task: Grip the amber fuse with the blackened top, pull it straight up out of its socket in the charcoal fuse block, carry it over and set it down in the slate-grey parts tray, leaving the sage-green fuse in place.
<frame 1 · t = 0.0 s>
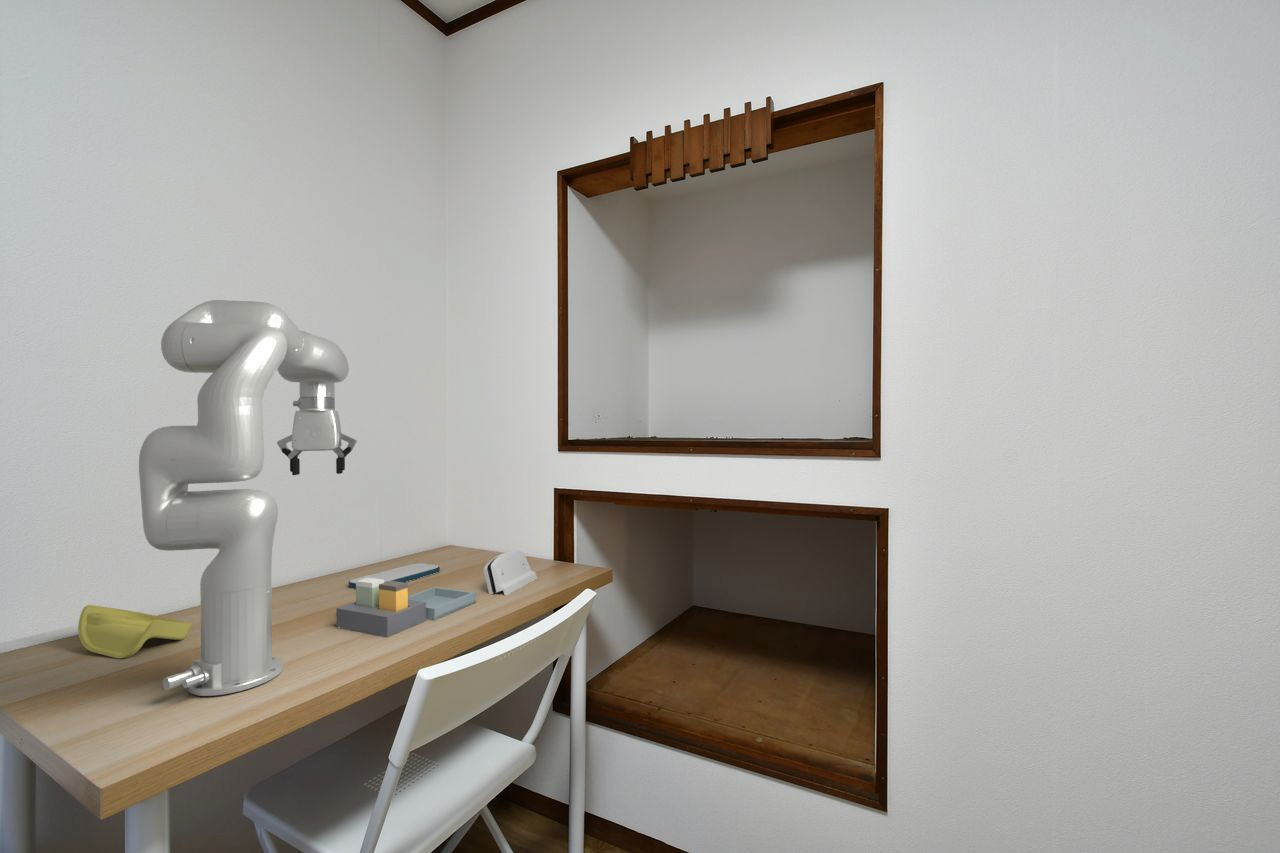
hand: (317, 474, 133), 31 cm above the table, tool pointing down, fingers open, 9 cm apart
fuse block: (381, 624, 115), on the table
grey slotted holder: (510, 587, 143), on the table
parts tray: (434, 607, 125), on the table
blown fuse: (393, 626, 113), resting in fuse block
plastic component: (133, 644, 107), on the table
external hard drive: (396, 581, 152), on the table
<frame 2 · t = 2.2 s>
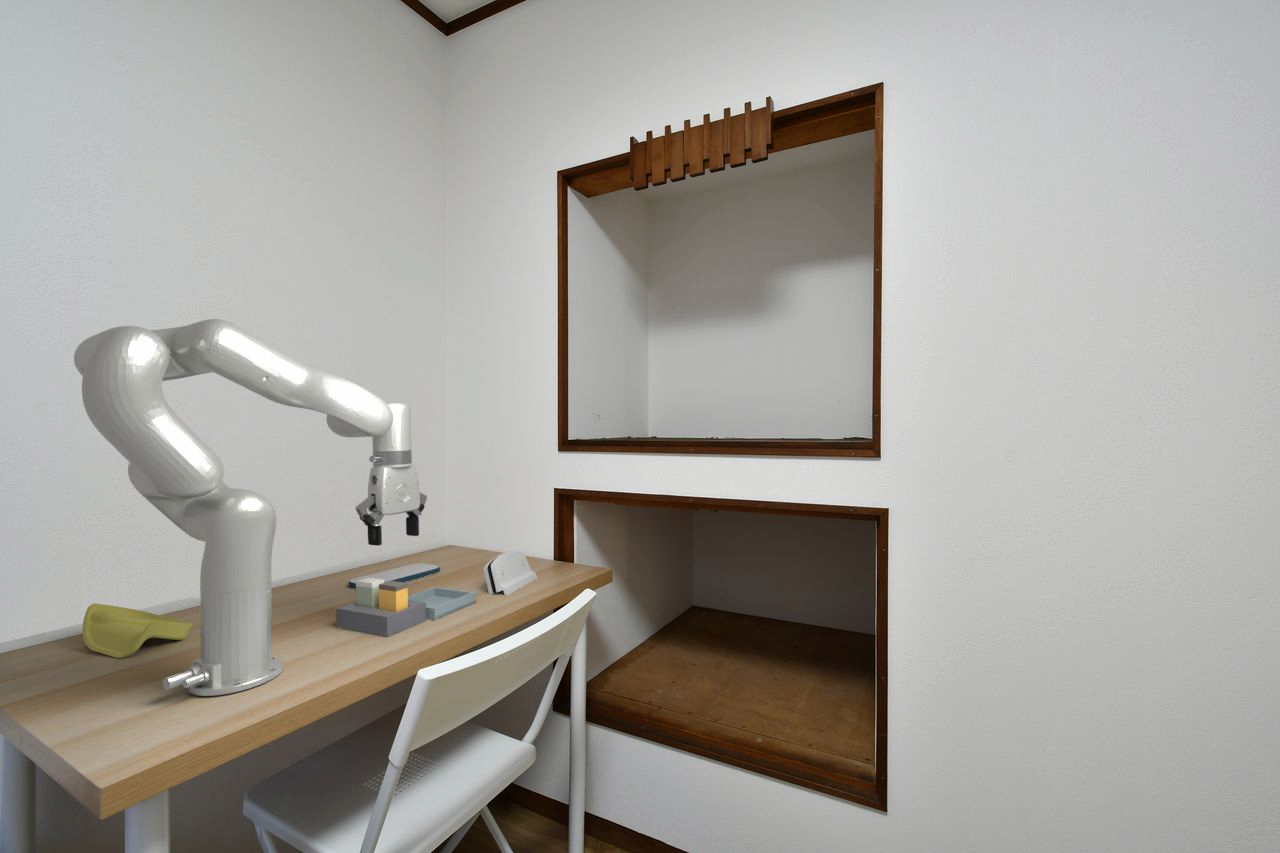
hand: (394, 540, 114), 18 cm above the table, tool pointing down, fingers open, 9 cm apart
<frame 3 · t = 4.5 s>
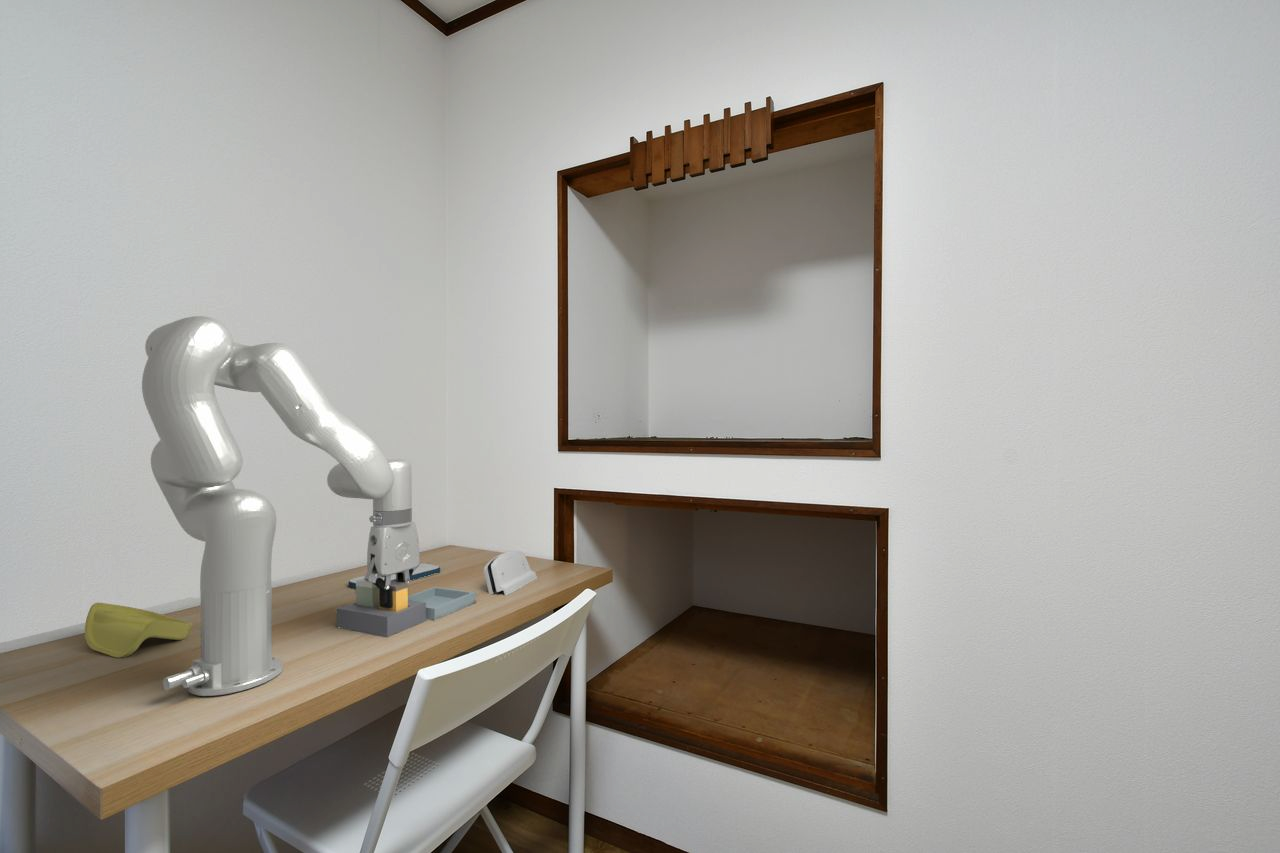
hand: (393, 603, 113), 5 cm above the table, tool pointing down, fingers closed on blown fuse, 3 cm apart
blown fuse: (393, 626, 113), resting in fuse block, touching gripper
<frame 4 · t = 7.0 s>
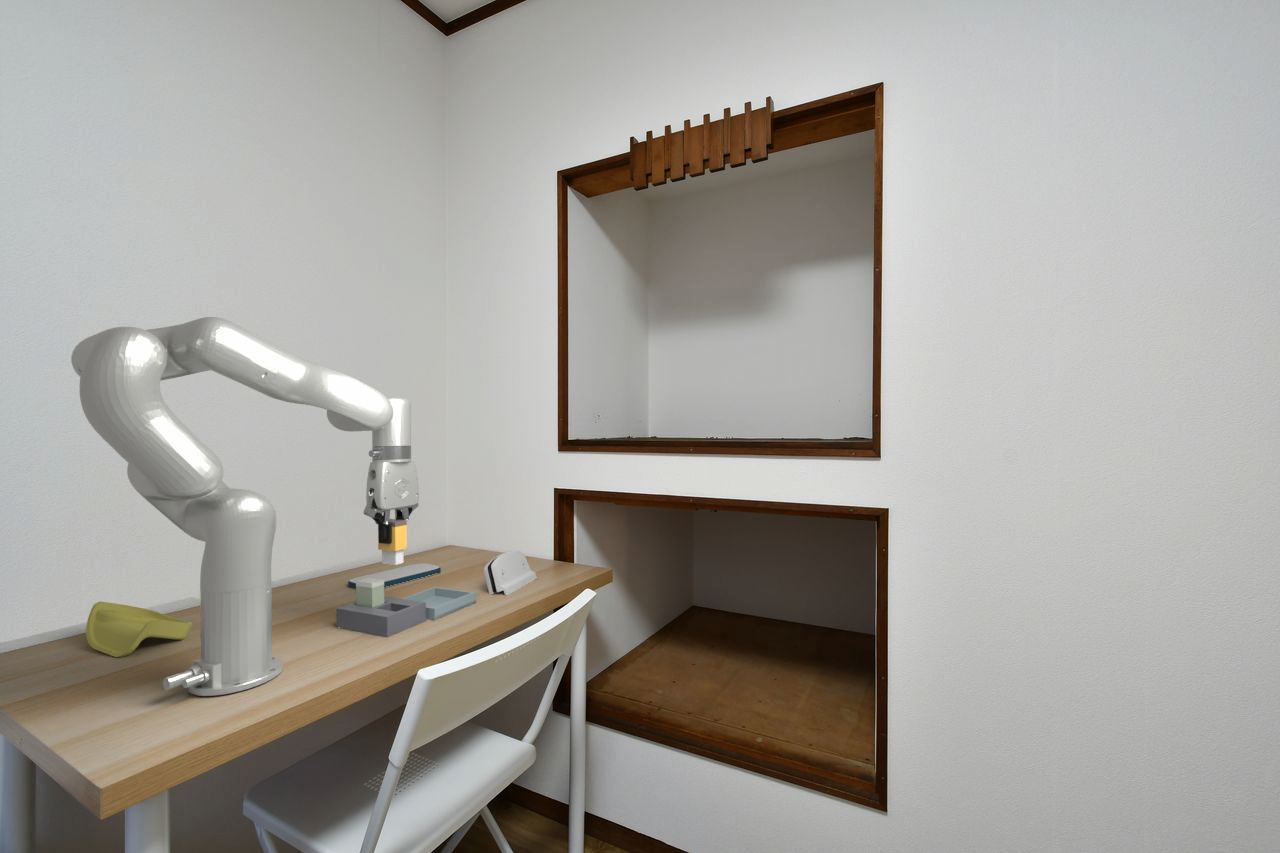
hand: (392, 540, 114), 18 cm above the table, tool pointing down, fingers closed on blown fuse, 3 cm apart
blown fuse: (392, 563, 113), point 13 cm above the table, touching gripper
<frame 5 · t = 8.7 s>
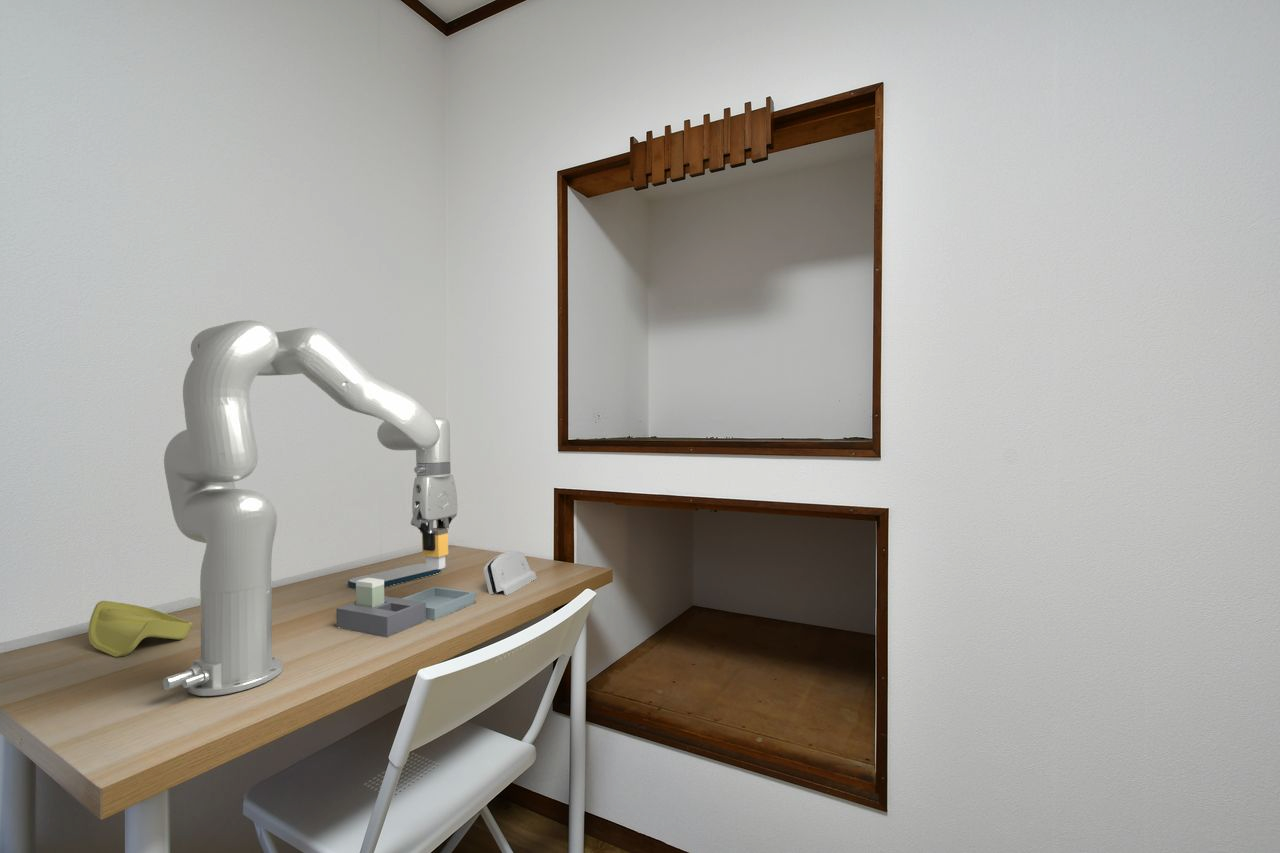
hand: (435, 547, 126), 14 cm above the table, tool pointing down, fingers closed on blown fuse, 3 cm apart
blown fuse: (435, 567, 126), point 9 cm above the table, touching gripper
when the fingers open (7 cm above the table, at t = 10.3 s): blown fuse drops 1 cm, resting on parts tray.
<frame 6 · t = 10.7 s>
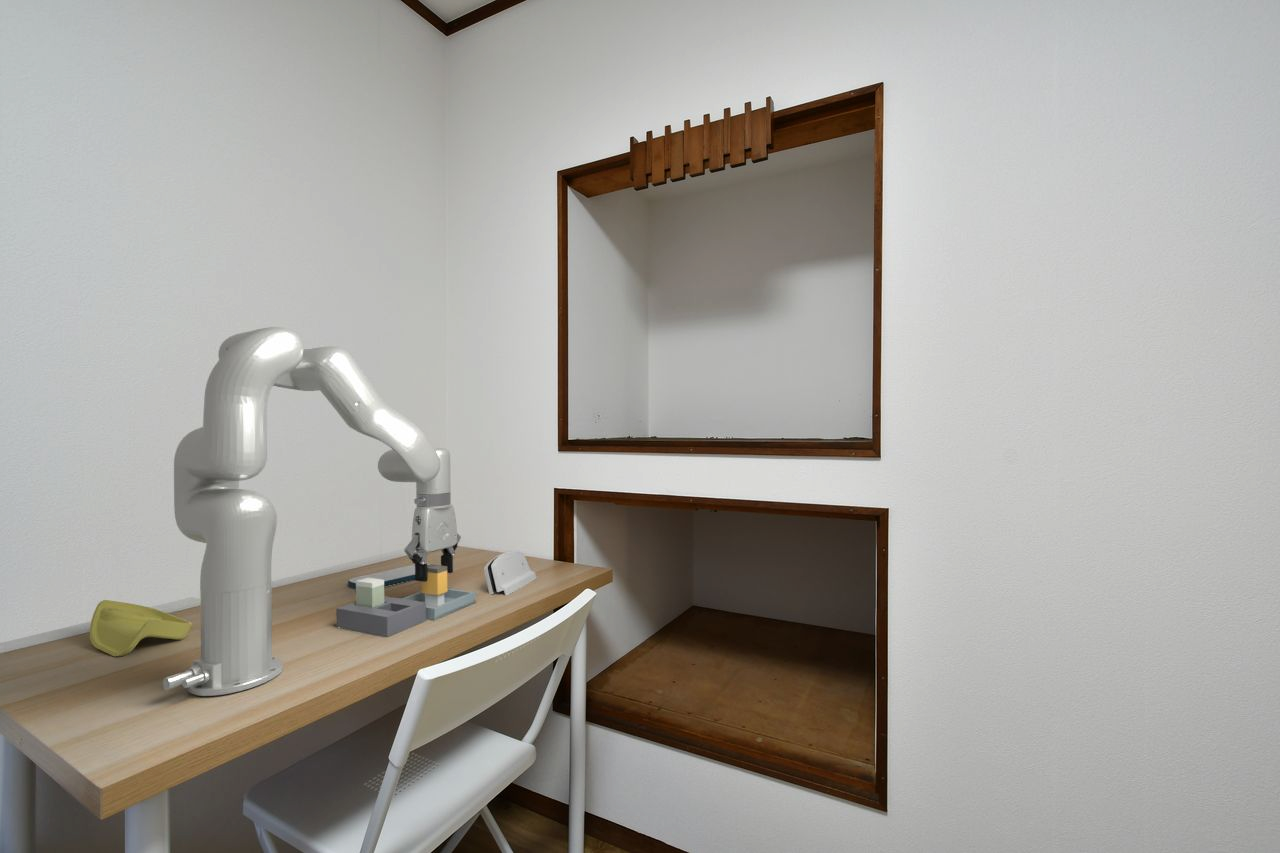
hand: (434, 576, 125), 7 cm above the table, tool pointing down, fingers open, 7 cm apart
blown fuse: (434, 605, 125), point 1 cm above the table, touching parts tray
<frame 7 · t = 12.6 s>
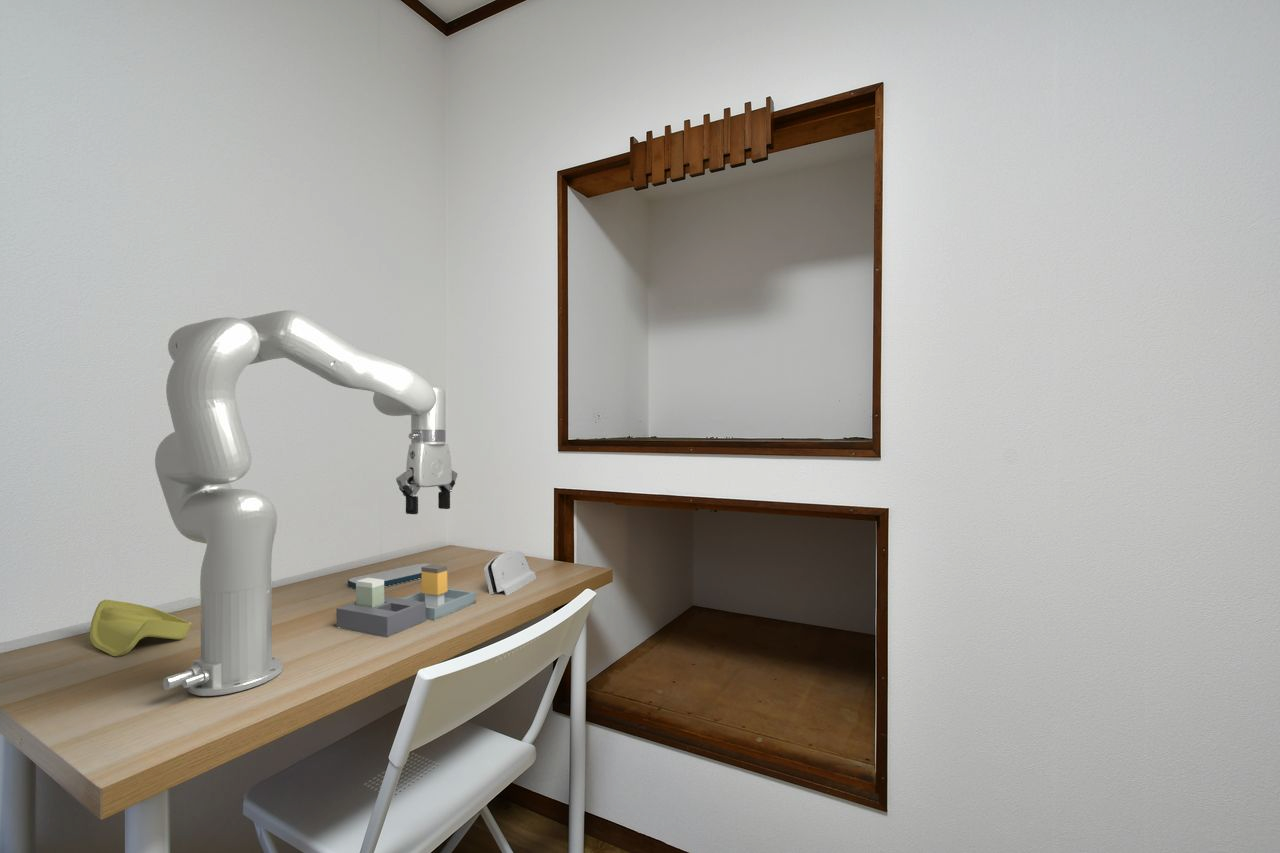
hand: (428, 511, 125), 23 cm above the table, tool pointing down, fingers open, 9 cm apart
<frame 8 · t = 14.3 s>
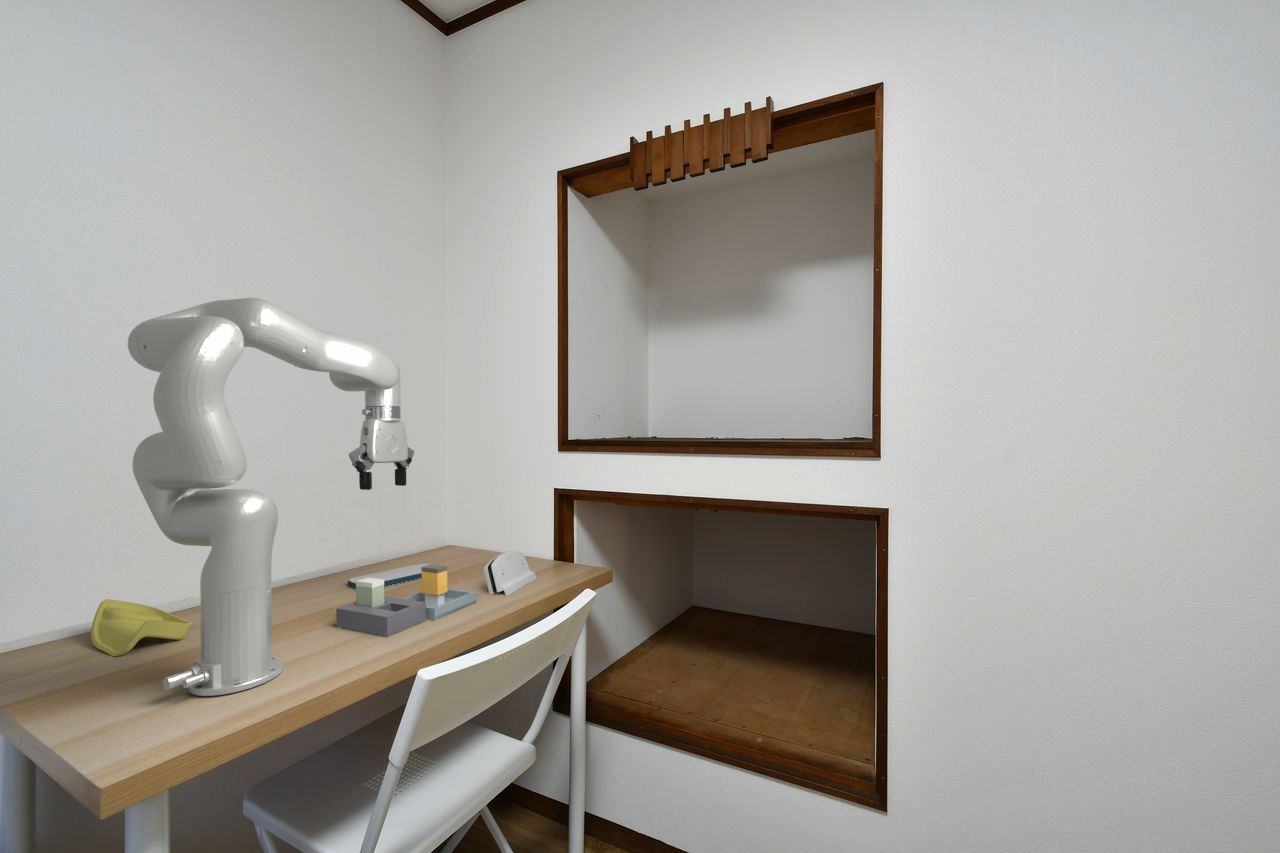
hand: (383, 487, 126), 28 cm above the table, tool pointing down, fingers open, 9 cm apart
at the end: blown fuse inside the target area on the parts tray (0.0 cm from its centre), point 0.6 cm above the parts tray's base; the gripper is holding nothing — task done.
